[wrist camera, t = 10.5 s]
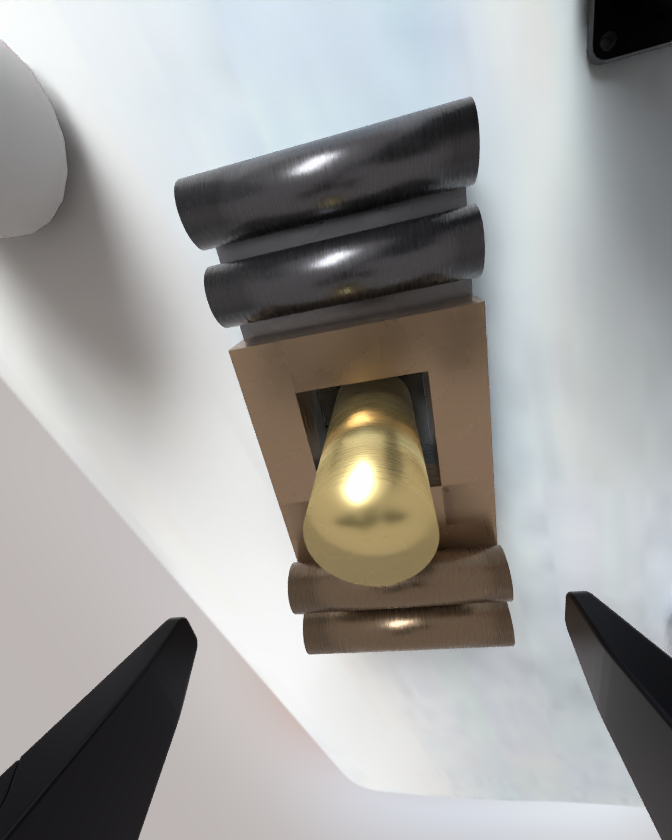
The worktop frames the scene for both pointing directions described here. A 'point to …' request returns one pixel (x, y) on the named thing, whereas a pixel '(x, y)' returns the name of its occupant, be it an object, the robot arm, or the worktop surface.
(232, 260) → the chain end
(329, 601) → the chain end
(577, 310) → the worktop surface
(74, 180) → the worktop surface
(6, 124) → the can
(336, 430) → the brass pin
